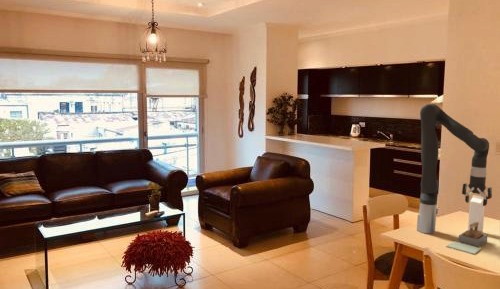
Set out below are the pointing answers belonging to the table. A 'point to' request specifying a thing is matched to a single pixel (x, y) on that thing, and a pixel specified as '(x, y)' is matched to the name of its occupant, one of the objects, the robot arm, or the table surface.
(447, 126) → the robot arm
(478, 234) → the caddy
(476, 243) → the holder
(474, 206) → the milk
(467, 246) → the mat
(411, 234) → the table surface
